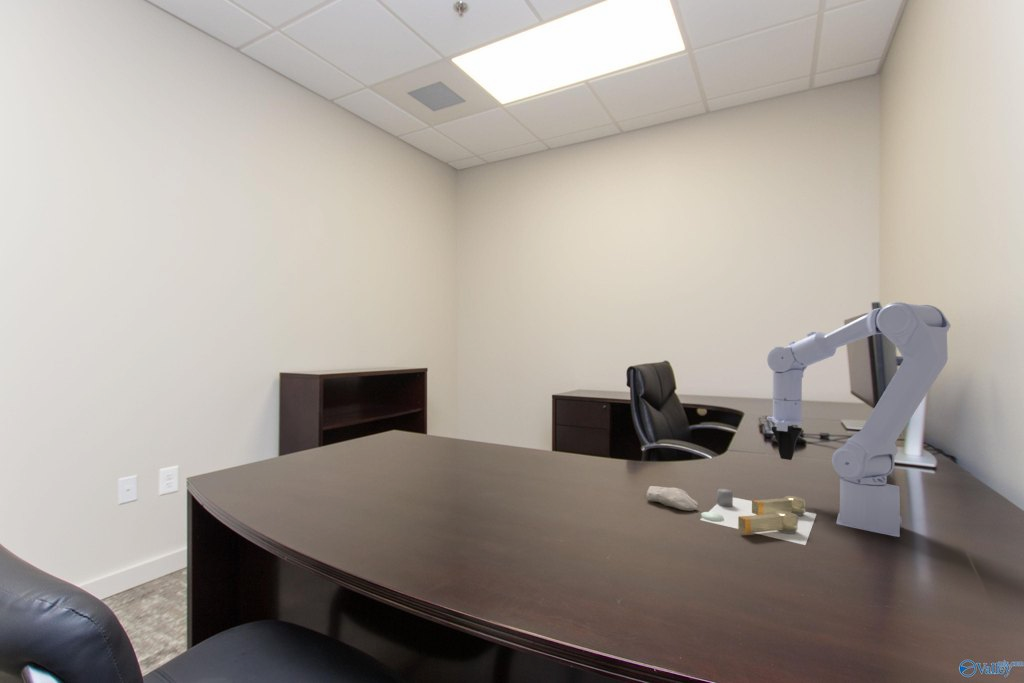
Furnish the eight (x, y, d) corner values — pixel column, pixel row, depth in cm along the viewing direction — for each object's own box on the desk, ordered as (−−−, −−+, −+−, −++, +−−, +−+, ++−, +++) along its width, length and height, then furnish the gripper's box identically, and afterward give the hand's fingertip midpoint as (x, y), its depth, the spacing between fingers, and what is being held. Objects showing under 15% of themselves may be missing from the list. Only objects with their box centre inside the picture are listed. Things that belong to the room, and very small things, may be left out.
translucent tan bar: (785, 523, 87) (785, 510, 87) (802, 530, 84) (802, 516, 84) (734, 528, 84) (734, 514, 84) (749, 536, 80) (749, 521, 80)
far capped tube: (794, 507, 96) (794, 495, 96) (809, 513, 93) (809, 500, 93) (748, 511, 93) (748, 498, 93) (762, 517, 90) (762, 504, 90)
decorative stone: (708, 518, 93) (683, 501, 108) (710, 499, 93) (685, 485, 108) (654, 509, 94) (637, 493, 109) (657, 490, 94) (639, 477, 109)
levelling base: (816, 516, 94) (816, 499, 94) (805, 547, 79) (805, 527, 79) (723, 497, 106) (723, 482, 106) (697, 521, 90) (697, 503, 90)
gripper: (772, 396, 113) (771, 451, 113) (761, 400, 102) (760, 461, 102) (806, 398, 109) (805, 455, 109) (798, 403, 98) (797, 467, 97)
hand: (786, 458), depth 105 cm, fingers closed
